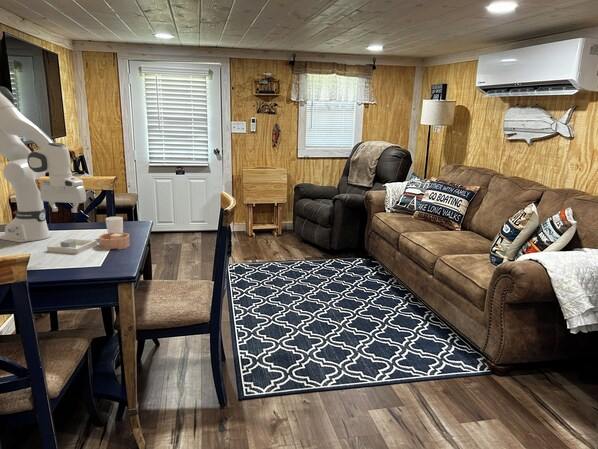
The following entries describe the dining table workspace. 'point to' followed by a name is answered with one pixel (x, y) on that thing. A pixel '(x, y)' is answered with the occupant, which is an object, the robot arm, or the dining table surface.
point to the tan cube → (116, 236)
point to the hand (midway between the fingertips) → (64, 211)
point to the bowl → (114, 241)
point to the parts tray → (80, 247)
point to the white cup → (114, 224)
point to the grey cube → (68, 243)
